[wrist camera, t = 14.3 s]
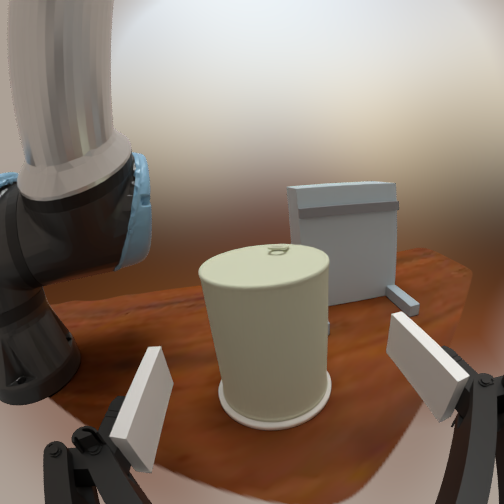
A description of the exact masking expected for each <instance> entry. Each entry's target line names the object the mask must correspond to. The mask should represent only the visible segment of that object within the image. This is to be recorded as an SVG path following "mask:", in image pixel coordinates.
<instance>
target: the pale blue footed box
mask: <svg viewBox="0 0 504 504" xmlns="http://www.w3.org/2000/svg"><path fill="white" fill-rule="evenodd" d="M287 196H288V208H289V219H290V231H291V244H294V245H303V246H309V247H313V248H316V249H319V250H321V251H323V252H324V253H326V254H327V255H328V257H329V260H330V262H329V277H328V306H331V305H337V304H343V303H348V302H354V301H359V300H365V299H370V298H375V297H380V296H387V297H388V298H389V299H390V300H391V301H392V302H393V303H394V304H396V305H397V306H398V307H399V308H400V309H401V310H402V311H403V312H404V313H406V314H407V315H408V316H409V317H411V316H414V315H418V313H419V307H420V304H419V303H418V302H417V301H415V300H414V299H413V298H412V297H410V296H409V295H408V294H406V293H405V292H404V291H403V290H401V289H400V288H399V287H397V286H396V285H395V271H396V249H397V248H396V247H397V210H399V201H397V200H396V183H387V182H374V181H371V182H348V183H331V184H316V185H303V186H291V187H287ZM329 332H330V323H329V322H328V335H329Z"/></svg>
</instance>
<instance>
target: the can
mask: <svg viewBox="0 0 504 504" xmlns="http://www.w3.org/2000/svg"><path fill="white" fill-rule="evenodd" d="M329 262H330V260H329V257H328V255H327V254H326V253H324V252H323V251H321V250H319V249H316V248H313V247H309V246H303V245H294V244H270V245H259V246H251V247H246V248H240V249H236V250H232V251H228V252H225V253H222V254H220V255H217V256H215V257H213V258H211V259H209V260H207V261H206V262H205V263H204V264H202V266H201V267H200V269H199V277H200V279H201V283H202V288H203V293H204V298H205V303H206V307H207V312H208V317H209V322H210V326H211V331H212V336H213V341H214V345H215V350H216V355H217V359H218V364H219V369H220V373H221V378H222V383H223V395H224V398H225V400H226V402H227V403H228V405H229V406H230V407H231V408H232V409H233V410H234V411H235V412H237V413H238V414H240V415H242V416H244V417H246V418H249V419H252V420H256V421H263V422H280V421H286V420H290V419H294V418H297V417H299V416H302V415H304V414H306V413H307V412H309V411H310V410H312V409H313V408H314V407H316V406H317V405H318V404H319V403H320V401H321V400H322V399H323V397H324V395H325V393H326V390H327V385H328V380H327V341H328V277H329Z"/></svg>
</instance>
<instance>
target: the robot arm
mask: <svg viewBox="0 0 504 504" xmlns="http://www.w3.org/2000/svg"><path fill="white" fill-rule="evenodd" d="M113 2H114V0H9V7H8V28H7V30H8V32H7V34H8V35H7V36H8V38H7V40H8V64H9V75H10V84H11V92H12V98H13V105H14V111H15V116H16V121H17V126H18V131H19V135H20V140H21V143H22V148H23V151H24V155H25V161H24V164H23V165H22V168H21V170H20V172H19V174H18V173H14V172H8V173H2V174H0V400H1V401H2V402H4V403H7V404H10V405H27V404H31V403H35V402H38V401H40V400H42V399H45V398H47V397H49V396H50V395H52V394H54V393H55V392H57V391H58V390H59V389H61V388H62V387H63V386H64V385H65V384H66V383H67V382H68V381H69V380H70V379H71V378H72V377H73V375H74V374H75V372H76V371H77V369H78V367H79V364H80V360H81V355H80V351H79V349H78V346H77V344H76V342H75V339H74V337H73V336H72V334H71V333H70V332H69V331H68V329H67V328H66V327H65V325H64V324H63V323H62V322H61V320H60V319H59V318H58V316H57V315H56V313H55V312H54V311H53V309H52V308H51V306H50V305H49V304H48V302H47V299H46V296H45V293H44V290H43V287H42V286H47V285H51V284H55V283H60V282H65V281H69V280H74V279H79V278H83V277H88V276H93V275H97V274H102V273H106V272H111V271H118V270H119V269H120V268H123V267H126V266H130V265H133V264H137V263H139V262H141V261H143V260H144V259H145V258H146V256H147V254H148V252H149V249H150V244H151V231H152V225H151V224H152V218H151V217H152V215H151V204H150V178H149V170H148V164H147V161H146V158H145V156H144V155H143V154H137V153H134V152H133V153H132V149H131V143H130V141H129V139H128V138H127V136H125V135H124V134H122V133H121V132H119V131H118V130H116V129H114V128H113V117H112V103H111V72H110V71H111V69H110V68H111V63H110V61H111V60H110V59H111V28H112V13H113ZM386 352H387V354H388V355H389V356H390V358H391V359H392V360H393V361H394V363H395V364H396V365H397V367H398V368H399V369H400V370H401V372H402V373H403V374H404V376H405V377H406V378H407V380H408V381H409V382H410V384H411V385H412V386H413V388H414V389H415V390H416V392H417V393H418V394H419V396H420V397H421V398H422V400H423V401H424V402H425V404H426V405H427V407H429V409H430V411H431V412H432V413H433V415H434V416H435V417H436V419H437V420H438V422H442V421H444V420H446V419H447V418H449V417H451V415H452V413H453V411H454V409H456V410H457V412H458V414H457V416H456V418H455V420H454V421H453V423H452V426H451V427H453V426H454V424H455V428H454V434H453V440H452V445H451V449H450V454H449V459H448V462H447V467H446V470H445V474H444V478H443V481H442V485H441V488H440V491H439V494H438V497H437V500H436V503H435V504H487V503H488V498H489V493H490V488H491V483H492V476H493V469H494V462H495V458H496V466H497V475H498V489H499V504H504V375H503V376H500V377H496V378H493V376H491V375H489V374H486V373H481V374H478V373H477V372H476V371H474V370H473V369H472V368H471V367H470V366H469V365H468V364H467V363H466V362H465V361H464V360H462V358H461V357H460V356H458V354H456V352H455V351H453V350H452V349H451V348H448V347H446V346H442V347H440V346H439V345H438V344H437V343H436V342H435V341H434V340H433V339H432V338H430V337H429V336H428V335H427V334H426V333H425V332H424V331H423V330H422V329H421V328H420V327H419V326H418V325H416V324H415V323H414V322H413V321H412V320H411V319H410V318H409V317H408V316H407V315H405V314H404V313H403V312H398V313H394V314H391V322H390V330H389V337H388V343H387V349H386ZM172 387H173V380H172V378H171V375H170V372H169V369H168V366H167V363H166V360H165V357H164V354H163V351H162V348H161V346H158V347H148V349H147V351H146V353H145V355H144V357H143V359H142V362H141V364H140V366H139V368H138V370H137V373H136V375H135V377H134V379H133V382H132V384H131V386H130V388H129V391H128V393H127V395H126V396H117V397H116V398H115V399H114V400H113V401H112V402H111V404H110V406H109V408H108V411H107V412H106V414H105V417H104V419H103V421H102V423H101V425H100V428H99V430H98V431H97V430H96V429H95V428H93V427H91V426H84V427H80V428H79V429H77V430H76V431H75V432H74V433H73V435H72V443H73V444H74V445H75V446H76V448H67V447H66V446H65V445H64V444H63V443H62V442H59V441H54V442H51V443H49V444H48V445H47V446H46V447H45V449H44V459H43V461H44V462H43V464H44V465H43V467H44V470H43V471H44V493H45V504H100V503H99V499H98V493H97V489H98V491H99V493H100V495H101V496H102V498H103V500H104V502H105V503H106V504H152V503H151V502H150V500H149V499H148V498H147V496H146V495H145V493H144V492H143V491H142V489H141V488H140V486H139V485H138V484H137V482H136V481H135V479H134V478H133V476H132V474H131V473H130V472H129V470H130V467H131V466H132V467H133V468H134V469H135V471H138V472H146V473H152V469H153V464H154V460H155V455H156V451H157V447H158V442H159V438H160V434H161V430H162V426H163V422H164V418H165V414H166V410H167V406H168V402H169V398H170V394H171V391H172ZM96 487H97V489H96Z"/></svg>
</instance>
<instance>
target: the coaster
mask: <svg viewBox="0 0 504 504" xmlns="http://www.w3.org/2000/svg"><path fill="white" fill-rule="evenodd" d="M327 380H328V385H327V390H326V393H325V395H324V397H323V399H322V400H321V401H320V403H319V404H318V405H317V406H316V407H314V408H313V409H312V410H310V411H309V412H307V413H306V414H304V415H302V416H299V417H297V418H294V419H290V420H286V421H280V422H263V421H256V420H252V419H249V418H246V417H244V416H242V415H240V414H238V413H237V412H235V411H234V410H233V409H232V408H231V407H230V406H229V405H228V403H227V402H226V400H225V398H224V395H223V383H222V380H221V382H220V385H219V398H220V402H221V405H222V407H223V409H224V410H225V412H226V413H227V414H228V415H229V416H230V417H231V418H232V419H233V420H235V421H237V422H238V423H240V424H242V425H244V426H247V427H250V428H254V429H259V430H283V429H288V428H292V427H296V426H298V425H301V424H303V423H305V422H307V421H309V420H311V419H312V418H313V417H315V416H316V415H317V414H318V413H320V412H321V411H322V409H323V408H324V407H325V406H326V404H327V402H328V400H329V397H330V393H331V379H330V375H329V373H328V371H327Z"/></svg>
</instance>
